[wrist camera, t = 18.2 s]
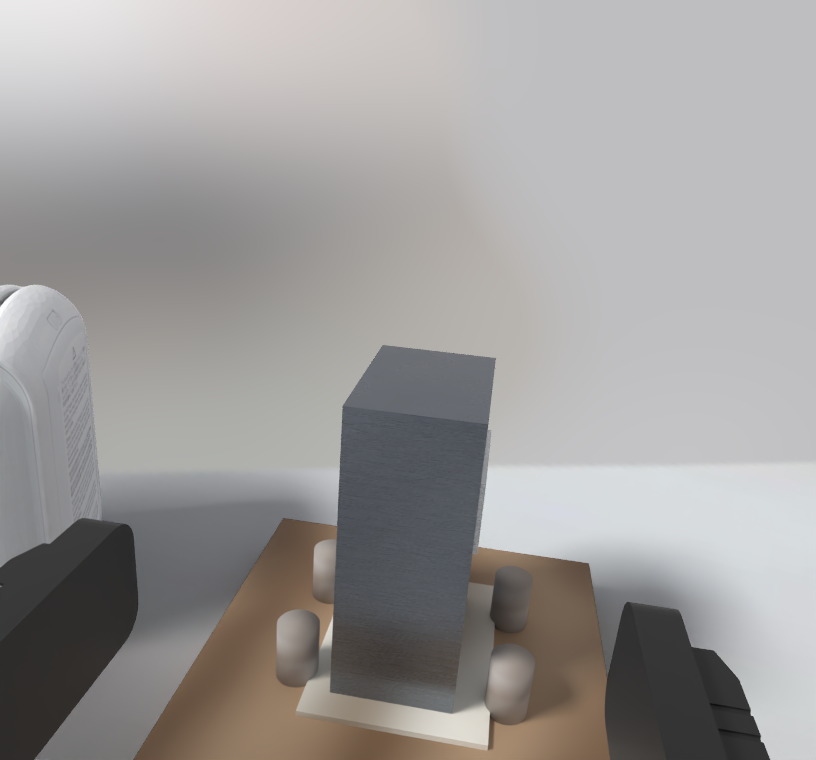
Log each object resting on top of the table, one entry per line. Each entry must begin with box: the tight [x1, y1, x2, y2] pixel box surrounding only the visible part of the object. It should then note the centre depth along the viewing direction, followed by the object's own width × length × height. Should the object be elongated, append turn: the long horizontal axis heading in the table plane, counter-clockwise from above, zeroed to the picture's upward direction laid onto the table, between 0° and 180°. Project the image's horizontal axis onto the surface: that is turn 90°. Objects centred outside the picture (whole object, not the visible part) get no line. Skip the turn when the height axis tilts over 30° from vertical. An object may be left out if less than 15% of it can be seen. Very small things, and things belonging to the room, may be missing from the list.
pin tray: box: [134, 518, 610, 760], centre depth 25 cm, size 14×14×4 cm
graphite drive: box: [330, 345, 496, 714], centre depth 23 cm, size 4×6×10 cm
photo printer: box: [0, 285, 102, 567], centre depth 27 cm, size 10×4×12 cm, turn 14°
